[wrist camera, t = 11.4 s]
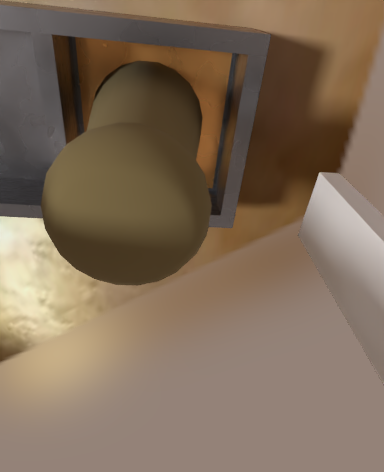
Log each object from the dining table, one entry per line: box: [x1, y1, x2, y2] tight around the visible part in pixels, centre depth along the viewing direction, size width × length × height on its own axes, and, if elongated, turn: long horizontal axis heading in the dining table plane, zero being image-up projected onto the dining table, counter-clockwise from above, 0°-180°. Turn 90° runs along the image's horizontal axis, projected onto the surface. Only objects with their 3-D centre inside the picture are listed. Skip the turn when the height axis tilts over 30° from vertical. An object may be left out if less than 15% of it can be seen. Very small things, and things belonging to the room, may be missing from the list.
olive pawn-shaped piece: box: [41, 60, 212, 285], centre depth 14 cm, size 6×6×11 cm
